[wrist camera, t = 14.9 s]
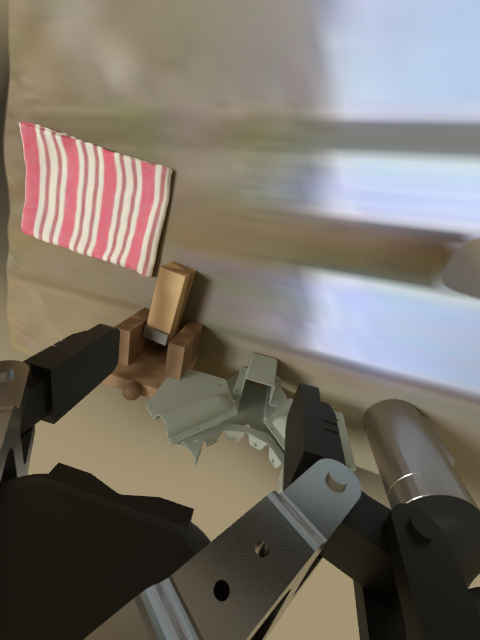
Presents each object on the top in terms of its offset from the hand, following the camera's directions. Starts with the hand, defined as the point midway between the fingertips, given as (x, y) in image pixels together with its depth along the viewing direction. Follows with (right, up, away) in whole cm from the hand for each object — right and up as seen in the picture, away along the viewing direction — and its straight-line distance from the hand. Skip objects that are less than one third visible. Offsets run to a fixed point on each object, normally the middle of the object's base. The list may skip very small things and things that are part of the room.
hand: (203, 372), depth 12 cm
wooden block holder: (-11, -1, +38) cm, 40 cm away
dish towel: (-21, +21, +33) cm, 44 cm away
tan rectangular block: (-9, +6, +36) cm, 38 cm away
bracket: (+5, -7, +38) cm, 39 cm away
